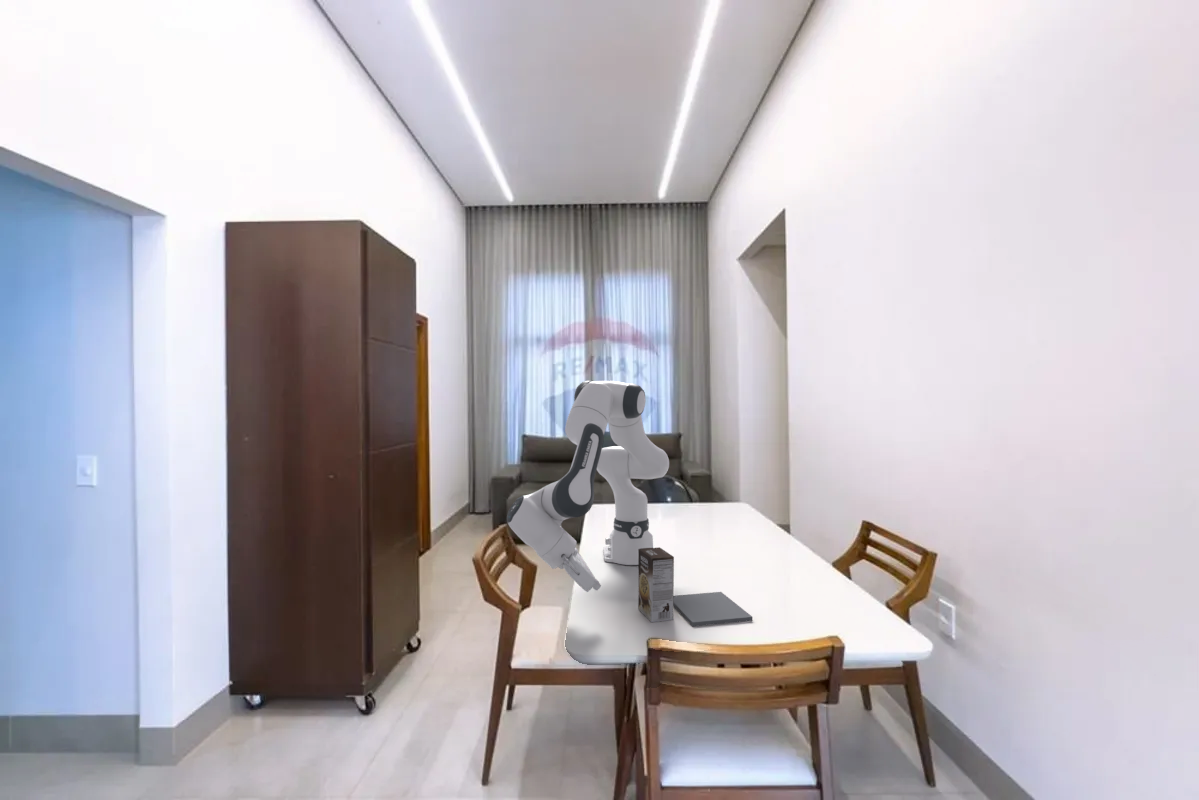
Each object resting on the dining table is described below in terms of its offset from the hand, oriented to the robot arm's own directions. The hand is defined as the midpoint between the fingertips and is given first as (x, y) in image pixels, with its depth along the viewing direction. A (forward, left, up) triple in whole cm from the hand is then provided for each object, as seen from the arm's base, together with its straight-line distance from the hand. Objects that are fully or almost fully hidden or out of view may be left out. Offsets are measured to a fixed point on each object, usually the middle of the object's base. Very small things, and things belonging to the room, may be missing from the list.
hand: (597, 586), depth 137 cm
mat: (0, +30, -8) cm, 31 cm away
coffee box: (0, +15, -8) cm, 17 cm away
